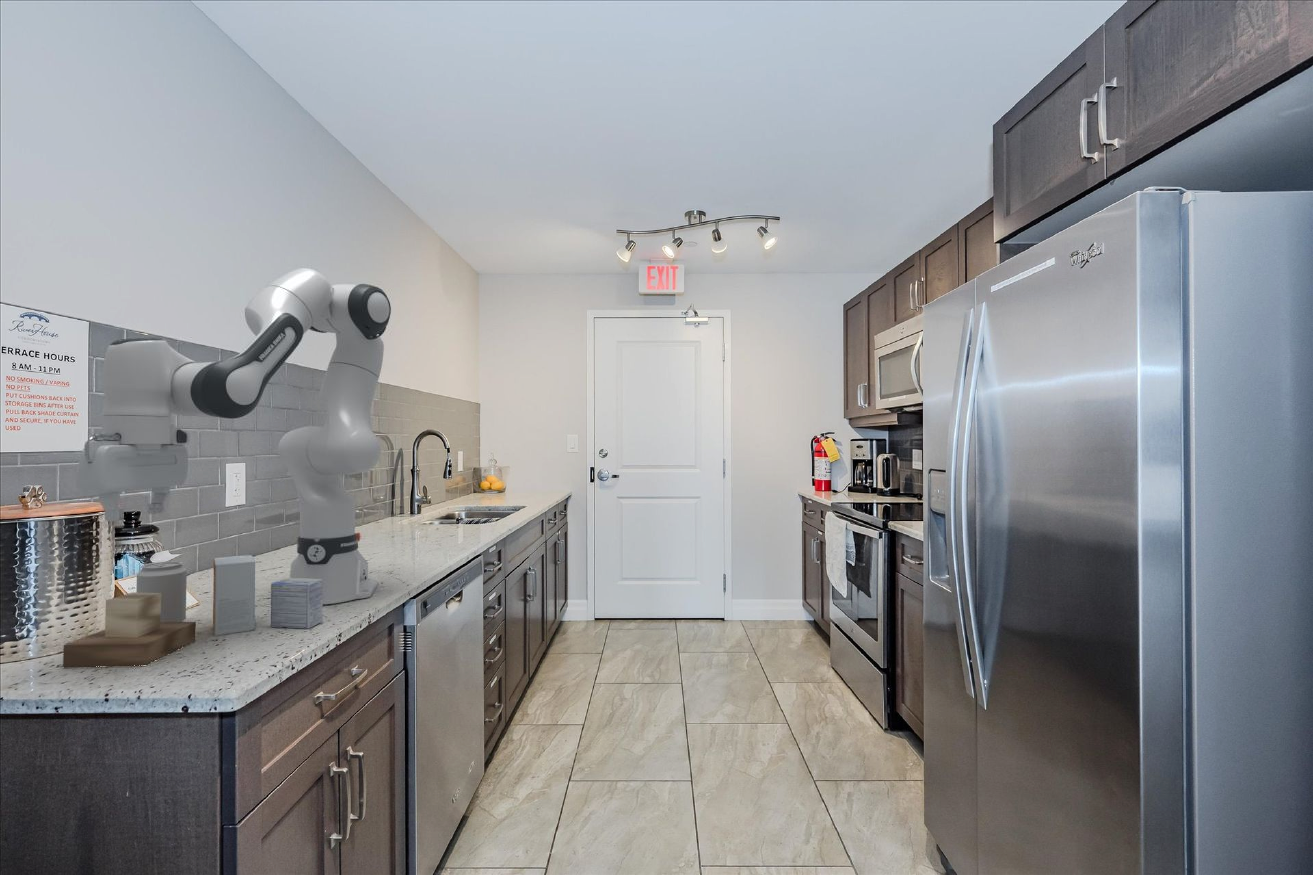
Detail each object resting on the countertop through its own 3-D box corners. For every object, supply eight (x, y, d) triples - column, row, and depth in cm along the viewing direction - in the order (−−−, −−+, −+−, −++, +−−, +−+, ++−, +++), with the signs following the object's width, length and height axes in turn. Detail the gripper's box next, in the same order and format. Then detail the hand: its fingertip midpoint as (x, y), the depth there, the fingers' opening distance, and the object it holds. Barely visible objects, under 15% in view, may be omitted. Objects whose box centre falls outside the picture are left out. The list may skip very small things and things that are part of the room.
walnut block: (122, 645, 108) (122, 622, 108) (195, 644, 109) (195, 621, 109) (62, 671, 96) (63, 645, 96) (145, 669, 97) (146, 643, 97)
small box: (212, 625, 119) (213, 557, 119) (251, 620, 123) (252, 554, 123) (213, 636, 112) (214, 564, 112) (255, 630, 116) (256, 560, 116)
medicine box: (323, 622, 121) (324, 578, 121) (308, 629, 117) (309, 583, 117) (285, 621, 122) (286, 577, 122) (269, 628, 118) (270, 582, 118)
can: (162, 632, 114) (164, 567, 114) (124, 631, 114) (125, 566, 115) (195, 621, 121) (196, 560, 122) (159, 619, 122) (160, 559, 122)
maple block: (130, 628, 105) (131, 592, 105) (160, 628, 105) (161, 593, 105) (104, 637, 100) (105, 600, 100) (136, 637, 100) (137, 600, 100)
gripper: (109, 433, 93) (108, 525, 93) (196, 434, 113) (195, 510, 113) (63, 433, 92) (62, 525, 92) (158, 434, 113) (157, 510, 113)
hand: (136, 517), depth 103 cm, fingers open, 8 cm apart
